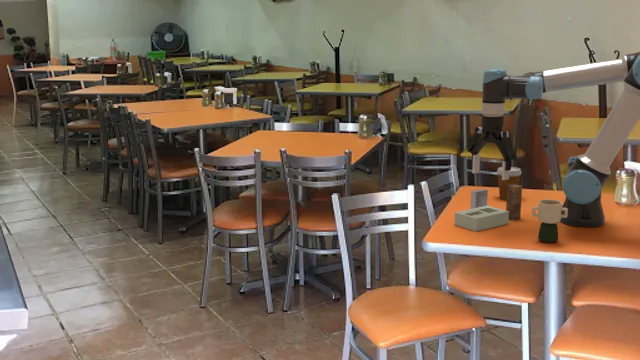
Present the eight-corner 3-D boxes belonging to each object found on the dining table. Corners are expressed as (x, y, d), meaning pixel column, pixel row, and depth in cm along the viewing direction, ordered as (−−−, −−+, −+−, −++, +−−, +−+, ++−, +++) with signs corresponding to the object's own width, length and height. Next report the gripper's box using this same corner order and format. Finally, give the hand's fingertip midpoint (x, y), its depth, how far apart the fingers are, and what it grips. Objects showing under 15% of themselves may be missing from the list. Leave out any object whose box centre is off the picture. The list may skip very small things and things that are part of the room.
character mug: (564, 238, 237) (567, 199, 234) (566, 245, 230) (569, 205, 228) (529, 236, 240) (532, 198, 237) (530, 243, 233) (533, 203, 230)
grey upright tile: (486, 213, 268) (487, 189, 266) (475, 216, 265) (476, 192, 263) (481, 212, 270) (482, 188, 268) (470, 214, 267) (471, 190, 265)
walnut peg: (520, 218, 261) (522, 185, 259) (513, 220, 259) (515, 187, 257) (512, 216, 264) (514, 184, 262) (505, 217, 262) (507, 185, 260)
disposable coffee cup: (491, 199, 289) (493, 169, 286) (500, 194, 297) (502, 165, 294) (515, 202, 284) (516, 172, 281) (523, 197, 291) (525, 168, 289)
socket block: (508, 223, 255) (508, 211, 254) (475, 231, 246) (476, 218, 245) (486, 217, 263) (487, 205, 262) (454, 224, 254) (455, 212, 253)
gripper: (529, 118, 240) (526, 181, 245) (473, 110, 260) (471, 168, 265) (514, 119, 236) (510, 184, 240) (458, 112, 256) (456, 171, 261)
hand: (490, 176), depth 253 cm, fingers open, 13 cm apart
